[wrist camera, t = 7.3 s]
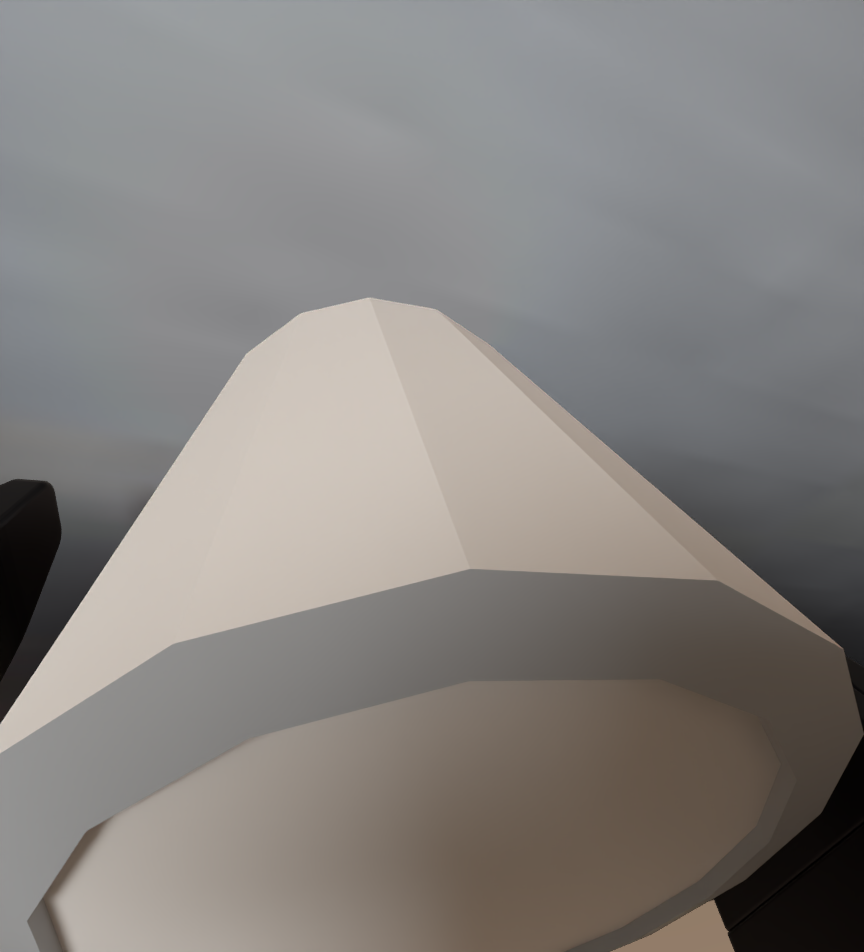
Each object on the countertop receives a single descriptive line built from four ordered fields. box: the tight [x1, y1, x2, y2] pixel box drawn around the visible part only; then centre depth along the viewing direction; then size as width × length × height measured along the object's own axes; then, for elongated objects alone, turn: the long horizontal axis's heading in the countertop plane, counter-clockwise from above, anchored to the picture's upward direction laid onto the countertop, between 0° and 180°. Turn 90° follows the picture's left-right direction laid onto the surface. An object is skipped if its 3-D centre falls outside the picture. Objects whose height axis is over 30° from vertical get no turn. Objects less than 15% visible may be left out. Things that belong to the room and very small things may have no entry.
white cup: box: [0, 298, 864, 952], centre depth 7 cm, size 7×7×7 cm
